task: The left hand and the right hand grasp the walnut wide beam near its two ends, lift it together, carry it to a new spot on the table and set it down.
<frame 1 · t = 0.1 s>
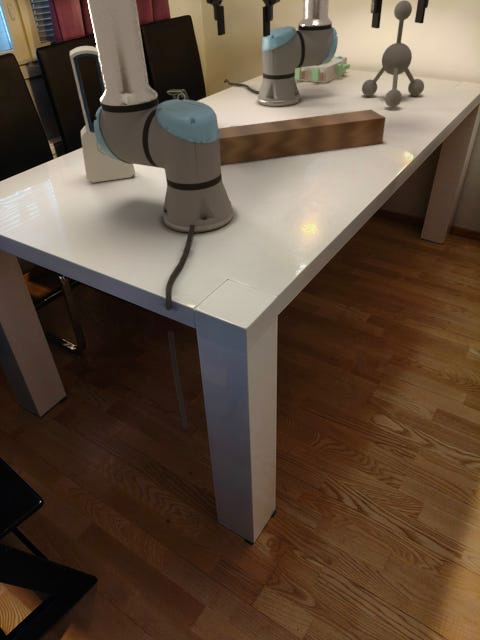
left hand: (243, 35, 129), 28 cm above the table, tool pointing down, fingers open, 13 cm apart
right hand: (397, 25, 130), 28 cm above the table, tool pointing down, fingers open, 13 cm apart
electronic device: (111, 175, 130), on the table
decorative block: (320, 77, 209), on the table
molecular model: (396, 99, 175), on the table
grenade: (181, 122, 165), on the table
wide beam: (279, 151, 139), on the table
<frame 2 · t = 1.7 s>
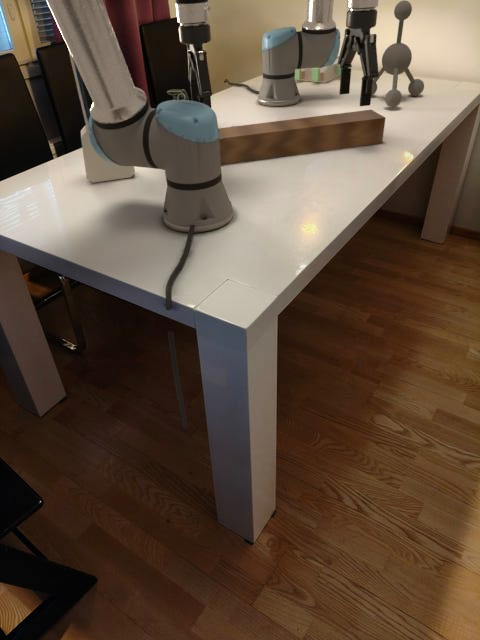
left hand: (202, 117, 128), 12 cm above the table, tool pointing down, fingers open, 13 cm apart
right hand: (354, 99, 135), 12 cm above the table, tool pointing down, fingers open, 13 cm apart
nothing on the table moved.
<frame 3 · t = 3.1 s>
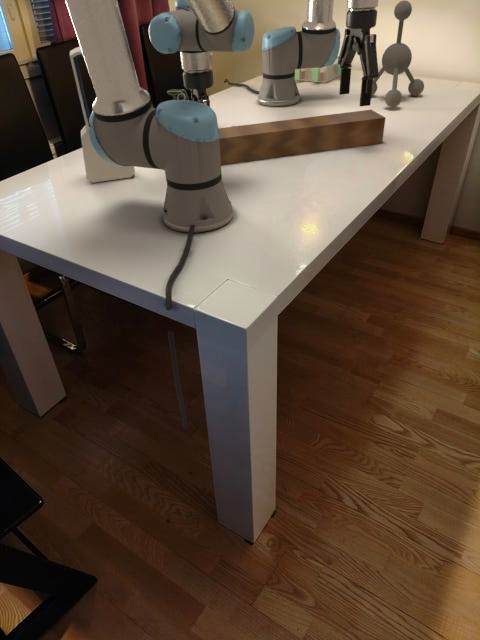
left hand: (205, 159, 135), 0 cm above the table, tool pointing down, fingers closed on wide beam, 9 cm apart
right hand: (354, 99, 135), 12 cm above the table, tool pointing down, fingers open, 13 cm apart
wide beam: (279, 151, 139), on the table, touching left hand
everything else where it was.
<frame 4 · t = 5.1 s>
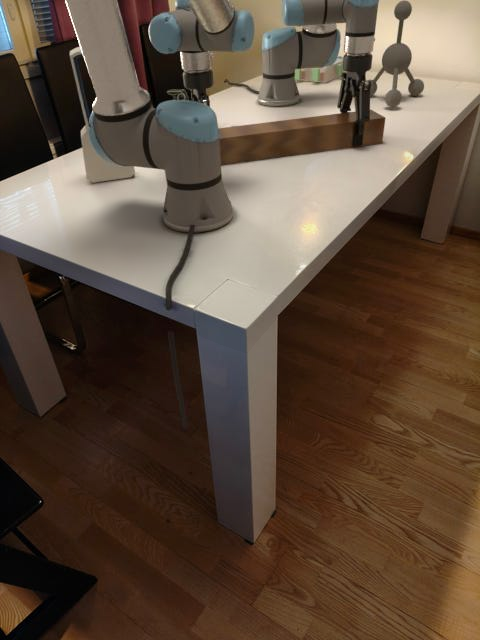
left hand: (205, 159, 135), 0 cm above the table, tool pointing down, fingers closed on wide beam, 9 cm apart
right hand: (350, 140, 142), 0 cm above the table, tool pointing down, fingers closed on wide beam, 9 cm apart
wide beam: (279, 151, 139), on the table, touching left hand, right hand
everything else where it was.
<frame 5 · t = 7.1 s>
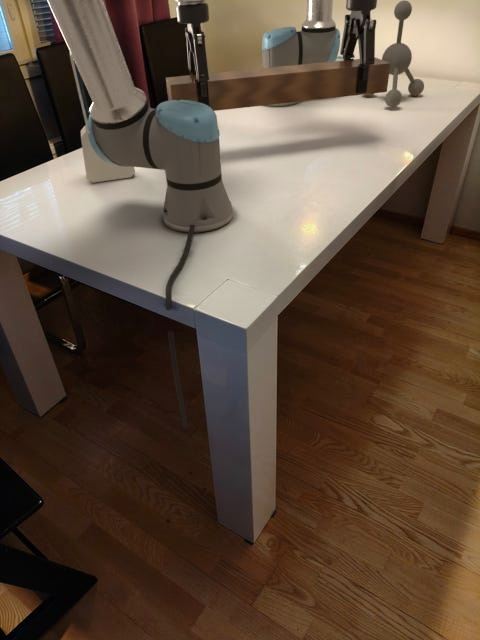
left hand: (200, 104, 128), 14 cm above the table, tool pointing down, fingers closed on wide beam, 9 cm apart
right hand: (353, 88, 135), 14 cm above the table, tool pointing down, fingers closed on wide beam, 9 cm apart
wide beam: (279, 99, 132), point 14 cm above the table, touching left hand, right hand
everything else where it was.
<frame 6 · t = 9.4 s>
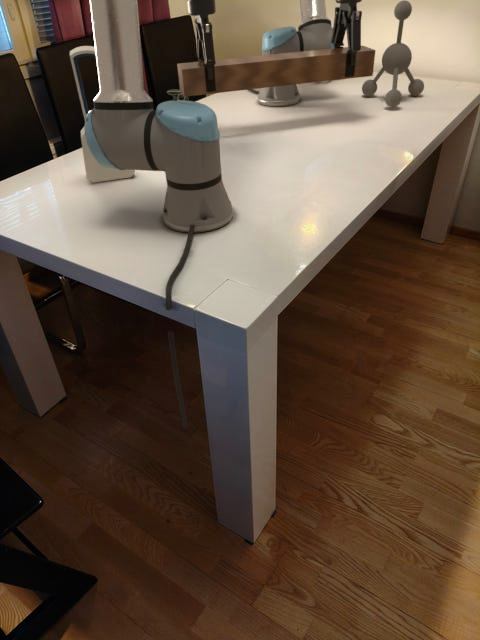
left hand: (208, 87, 145), 14 cm above the table, tool pointing down, fingers closed on wide beam, 9 cm apart
right hand: (343, 73, 152), 14 cm above the table, tool pointing down, fingers closed on wide beam, 9 cm apart
wide beam: (277, 82, 149), point 13 cm above the table, touching left hand, right hand
everything else where it was.
when the left hand's fingers open (2 cm above the table, at t = 11.3 s): wide beam drops 2 cm, on the table.
when the right hand's fingers open (2 cm above the table, at t = 11.3 s): wide beam drops 2 cm, on the table.
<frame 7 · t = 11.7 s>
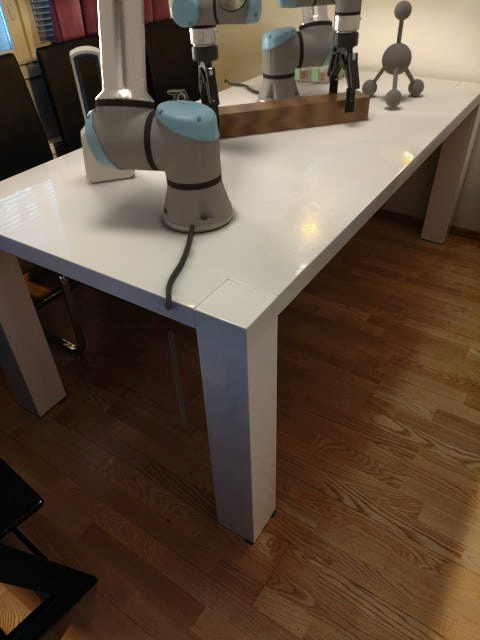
left hand: (210, 122, 151), 4 cm above the table, tool pointing down, fingers open, 13 cm apart
right hand: (340, 106, 158), 4 cm above the table, tool pointing down, fingers open, 13 cm apart
wide beam: (277, 127, 157), on the table
everything else where it was.
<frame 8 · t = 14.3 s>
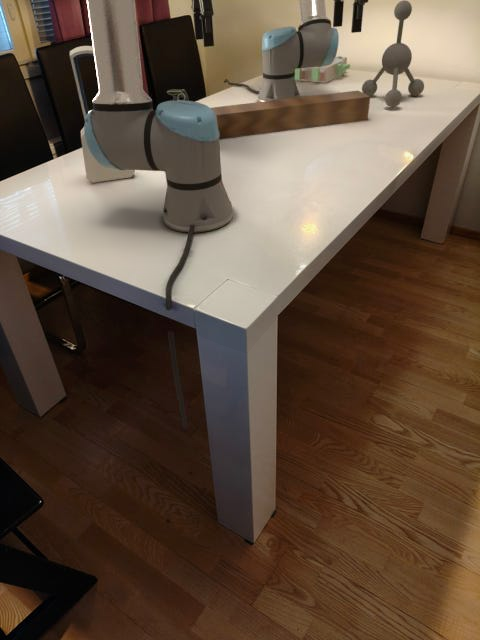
left hand: (204, 42, 137), 26 cm above the table, tool pointing down, fingers open, 13 cm apart
right hand: (346, 29, 144), 26 cm above the table, tool pointing down, fingers open, 13 cm apart
nothing on the table moved.
at the end: wide beam inside the target area (0.0 cm from its centre), on the table; wide beam tilted 0°; wide beam never tilted more than 2° during the clip; both hands held the wide beam at the same time; the left hand is holding nothing; the right hand is holding nothing; wide beam at rest at the end (0.0 cm/s) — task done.
